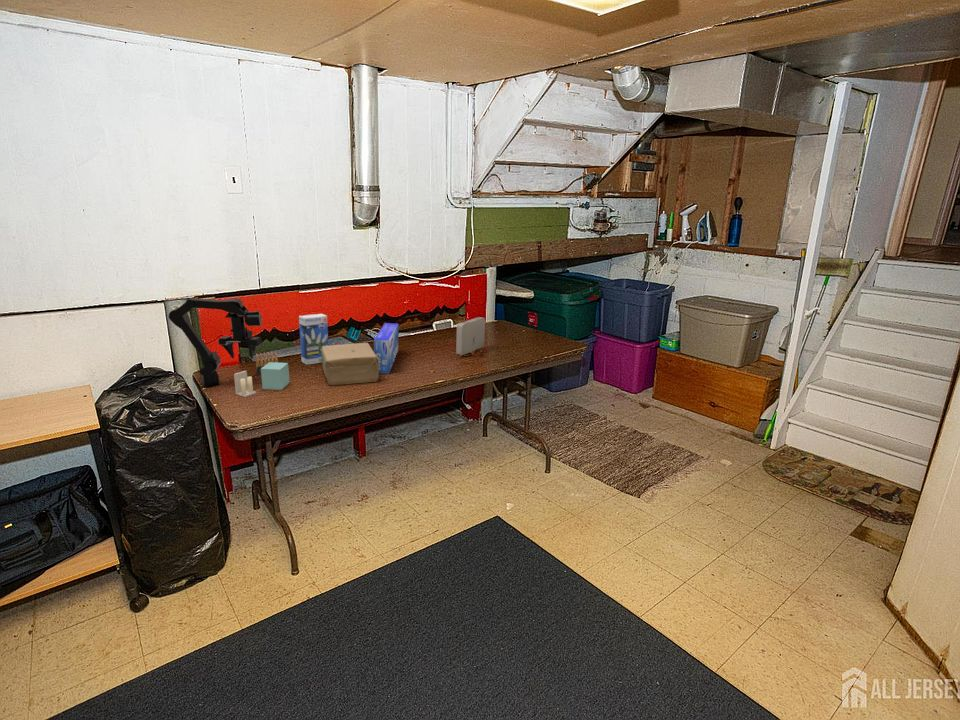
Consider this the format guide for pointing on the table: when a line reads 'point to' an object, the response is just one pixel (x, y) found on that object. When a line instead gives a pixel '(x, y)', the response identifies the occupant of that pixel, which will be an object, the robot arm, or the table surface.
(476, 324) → the network device
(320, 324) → the string lights box
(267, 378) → the housing
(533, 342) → the table surface
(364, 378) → the paper package
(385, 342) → the toner cartridge box
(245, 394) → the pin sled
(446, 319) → the table surface
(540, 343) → the table surface
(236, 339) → the robot arm
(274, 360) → the ammunition clip
